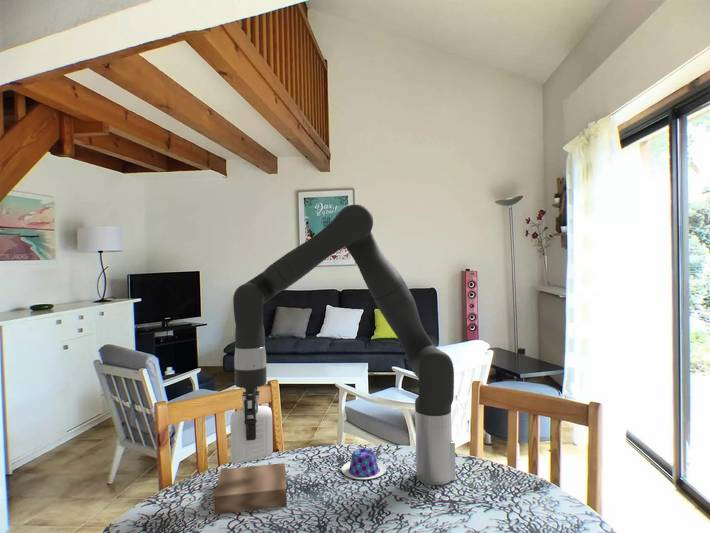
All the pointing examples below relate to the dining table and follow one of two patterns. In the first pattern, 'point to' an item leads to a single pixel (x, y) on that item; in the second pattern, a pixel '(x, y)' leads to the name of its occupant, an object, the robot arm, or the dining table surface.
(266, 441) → the photo printer
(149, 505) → the dining table surface
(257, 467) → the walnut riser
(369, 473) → the pudding
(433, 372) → the robot arm
